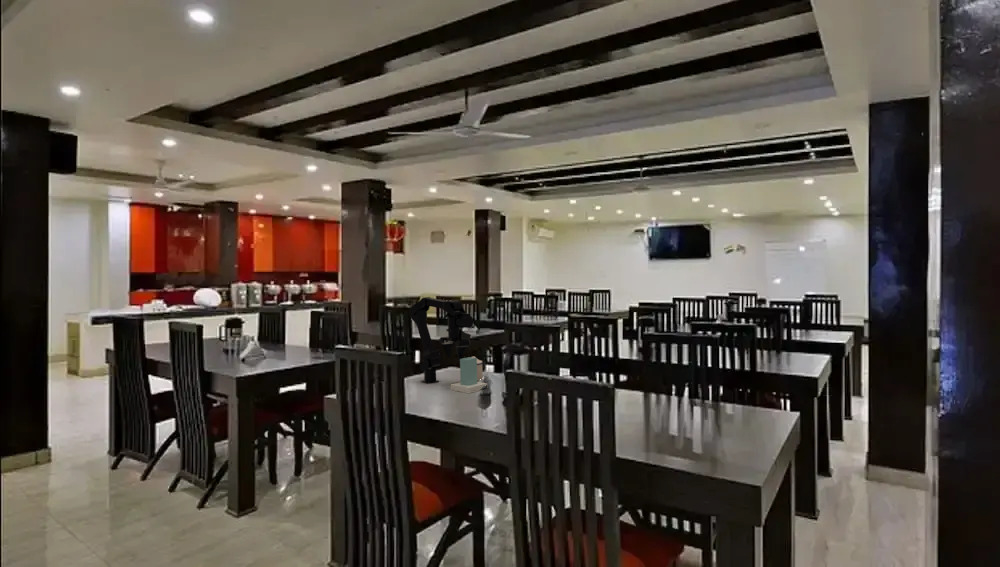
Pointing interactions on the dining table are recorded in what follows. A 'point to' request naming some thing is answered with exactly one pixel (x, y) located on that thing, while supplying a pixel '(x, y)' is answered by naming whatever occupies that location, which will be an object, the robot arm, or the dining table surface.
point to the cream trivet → (467, 387)
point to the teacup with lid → (479, 369)
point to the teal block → (468, 371)
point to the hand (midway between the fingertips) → (454, 359)
